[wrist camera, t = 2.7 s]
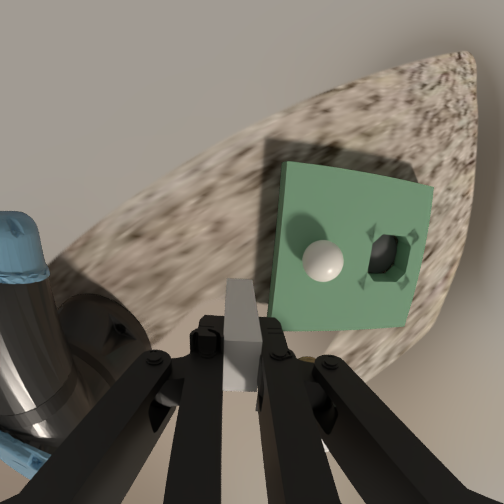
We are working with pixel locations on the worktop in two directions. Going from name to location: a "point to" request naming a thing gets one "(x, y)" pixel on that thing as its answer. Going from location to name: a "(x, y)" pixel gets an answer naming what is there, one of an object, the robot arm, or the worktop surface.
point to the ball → (322, 260)
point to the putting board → (347, 247)
